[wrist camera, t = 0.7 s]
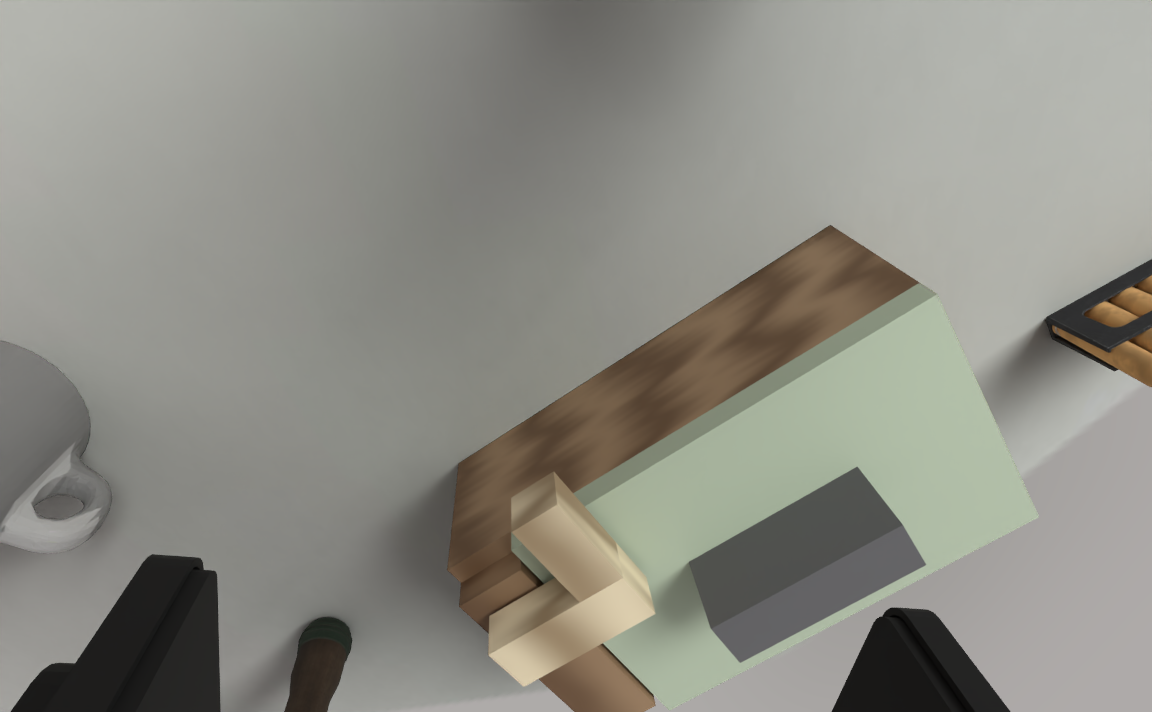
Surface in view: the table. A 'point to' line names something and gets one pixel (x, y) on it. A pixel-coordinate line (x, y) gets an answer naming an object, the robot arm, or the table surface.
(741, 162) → the table surface
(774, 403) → the toolbox lid
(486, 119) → the table surface
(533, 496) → the wooden l-shaped block
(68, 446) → the coffee mug
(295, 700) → the stick grenade
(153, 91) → the table surface
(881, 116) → the table surface
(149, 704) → the robot arm
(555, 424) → the toolbox
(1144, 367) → the ammunition clip
